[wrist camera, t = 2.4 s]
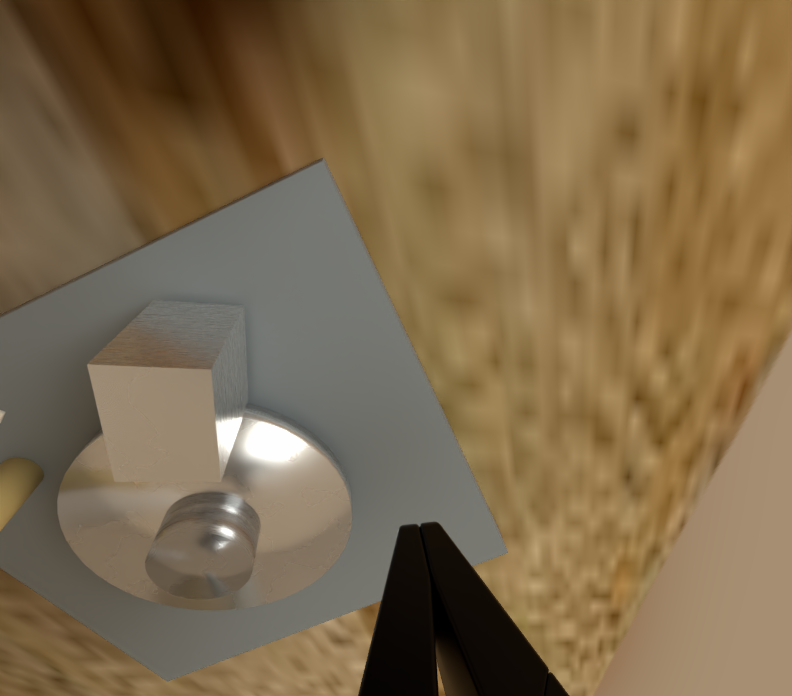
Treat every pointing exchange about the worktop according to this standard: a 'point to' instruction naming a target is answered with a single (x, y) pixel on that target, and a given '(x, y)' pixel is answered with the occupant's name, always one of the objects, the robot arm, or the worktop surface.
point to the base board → (267, 387)
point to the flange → (198, 472)
